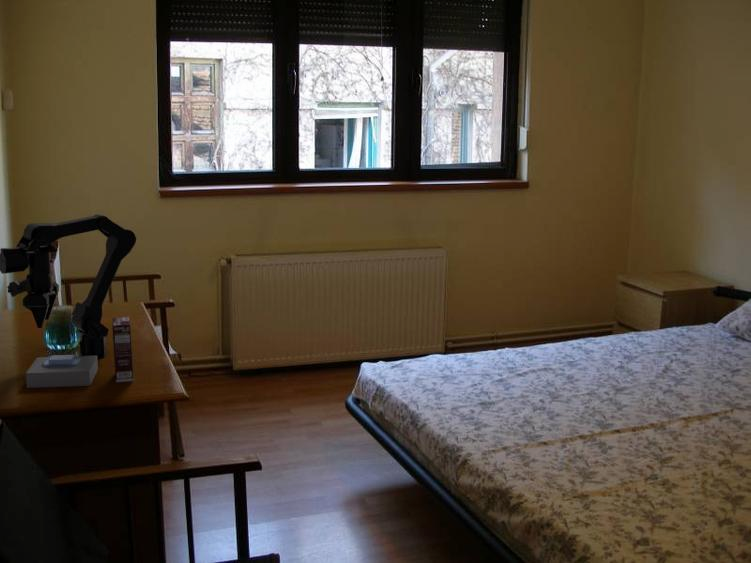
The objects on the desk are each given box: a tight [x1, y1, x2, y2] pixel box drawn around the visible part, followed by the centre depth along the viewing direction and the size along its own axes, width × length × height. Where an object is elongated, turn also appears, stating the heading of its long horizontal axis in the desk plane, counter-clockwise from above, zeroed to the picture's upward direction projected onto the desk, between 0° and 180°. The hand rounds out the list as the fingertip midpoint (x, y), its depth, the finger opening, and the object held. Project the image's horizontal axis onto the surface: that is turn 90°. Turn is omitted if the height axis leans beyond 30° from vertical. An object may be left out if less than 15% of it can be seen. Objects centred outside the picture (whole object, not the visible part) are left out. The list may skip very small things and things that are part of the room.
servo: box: [43, 354, 81, 368], centre depth 241 cm, size 9×4×6 cm, turn 98°
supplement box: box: [111, 316, 134, 383], centre depth 242 cm, size 9×5×16 cm, turn 16°
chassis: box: [25, 355, 99, 389], centre depth 242 cm, size 16×14×4 cm
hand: (43, 323), depth 251 cm, fingers open, 9 cm apart
